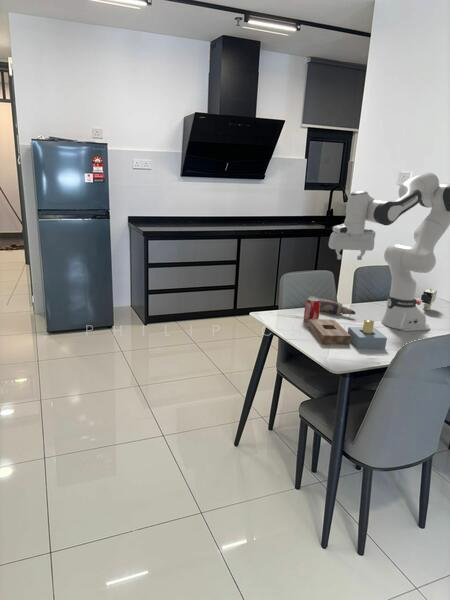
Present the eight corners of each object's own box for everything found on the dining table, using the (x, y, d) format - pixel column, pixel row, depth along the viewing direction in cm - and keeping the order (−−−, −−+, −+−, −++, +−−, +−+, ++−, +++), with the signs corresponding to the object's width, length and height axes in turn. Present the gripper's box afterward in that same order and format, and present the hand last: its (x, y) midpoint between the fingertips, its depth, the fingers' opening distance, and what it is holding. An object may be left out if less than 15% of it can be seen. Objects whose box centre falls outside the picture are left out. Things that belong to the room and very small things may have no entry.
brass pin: (368, 341, 191) (371, 319, 188) (372, 344, 187) (375, 322, 184) (359, 341, 190) (362, 319, 187) (363, 344, 186) (366, 322, 183)
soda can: (317, 326, 208) (321, 302, 205) (302, 324, 210) (305, 300, 206) (318, 321, 215) (321, 297, 212) (303, 319, 216) (306, 296, 213)
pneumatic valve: (433, 308, 249) (438, 288, 245) (428, 312, 240) (432, 291, 237) (423, 306, 252) (427, 286, 249) (417, 310, 243) (421, 289, 240)
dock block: (372, 340, 195) (374, 327, 193) (384, 351, 184) (387, 337, 182) (346, 339, 194) (348, 326, 192) (357, 350, 182) (359, 337, 181)
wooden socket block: (332, 329, 205) (334, 319, 203) (349, 346, 186) (350, 335, 184) (307, 329, 203) (309, 319, 202) (321, 346, 184) (323, 335, 183)
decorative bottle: (305, 308, 234) (306, 296, 232) (311, 306, 239) (312, 294, 238) (351, 320, 219) (353, 308, 217) (357, 317, 225) (359, 305, 223)
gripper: (372, 228, 198) (368, 258, 202) (329, 226, 196) (325, 257, 200) (379, 230, 192) (374, 261, 197) (334, 228, 190) (330, 260, 194)
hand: (349, 259), depth 198 cm, fingers open, 8 cm apart
